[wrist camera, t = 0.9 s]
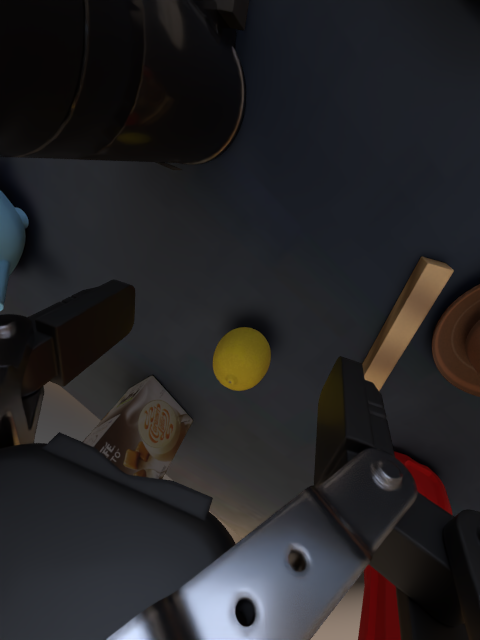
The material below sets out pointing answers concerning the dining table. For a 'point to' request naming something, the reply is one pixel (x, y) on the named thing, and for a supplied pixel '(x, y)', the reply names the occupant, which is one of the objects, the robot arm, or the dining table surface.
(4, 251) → the teapot
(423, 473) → the water bottle
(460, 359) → the cup and saucer
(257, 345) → the lemon
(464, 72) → the dining table surface
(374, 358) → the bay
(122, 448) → the coffee box
